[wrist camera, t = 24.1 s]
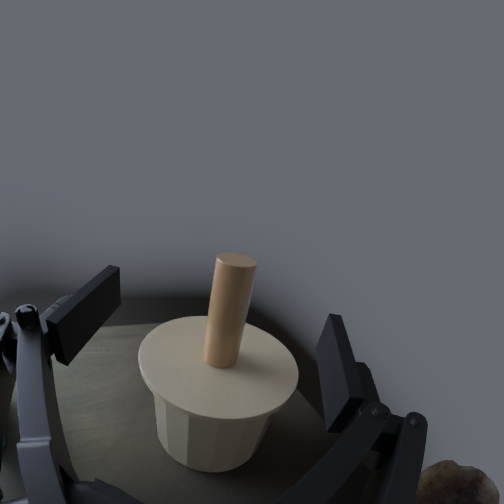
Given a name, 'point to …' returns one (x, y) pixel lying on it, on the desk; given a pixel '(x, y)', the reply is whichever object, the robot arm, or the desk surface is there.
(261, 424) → the beige cup
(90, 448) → the desk surface
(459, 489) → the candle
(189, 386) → the jug lid
